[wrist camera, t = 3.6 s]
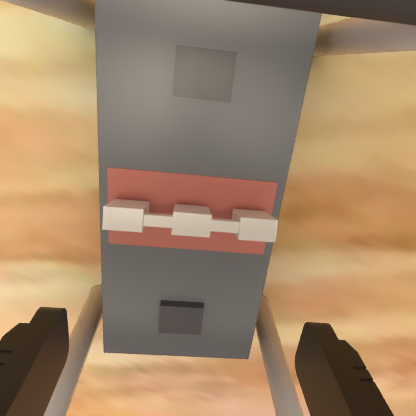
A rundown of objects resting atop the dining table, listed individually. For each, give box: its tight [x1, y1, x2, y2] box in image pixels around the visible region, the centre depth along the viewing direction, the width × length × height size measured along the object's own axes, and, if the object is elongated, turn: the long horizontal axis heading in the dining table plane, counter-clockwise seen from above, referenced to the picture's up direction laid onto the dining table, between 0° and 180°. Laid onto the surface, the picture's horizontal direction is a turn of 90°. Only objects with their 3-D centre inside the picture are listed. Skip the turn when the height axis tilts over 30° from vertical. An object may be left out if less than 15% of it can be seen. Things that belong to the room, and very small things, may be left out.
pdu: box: [3, 0, 416, 416], centre depth 18 cm, size 16×24×16 cm, turn 174°
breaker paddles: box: [102, 199, 278, 243], centre depth 18 cm, size 9×1×3 cm, turn 84°
